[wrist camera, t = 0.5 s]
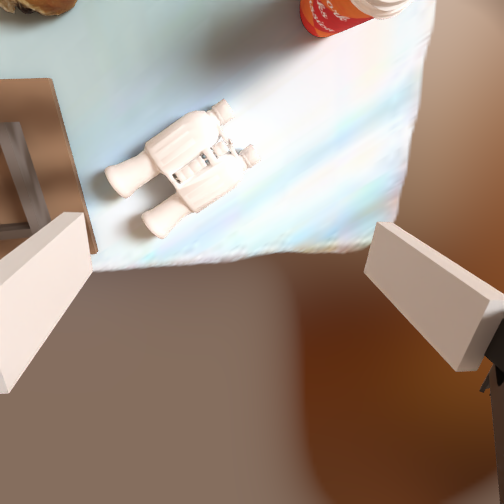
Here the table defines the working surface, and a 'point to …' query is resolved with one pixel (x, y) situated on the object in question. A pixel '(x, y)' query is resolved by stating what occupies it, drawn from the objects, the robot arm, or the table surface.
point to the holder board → (35, 163)
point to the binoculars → (185, 166)
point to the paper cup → (345, 13)
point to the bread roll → (38, 6)
